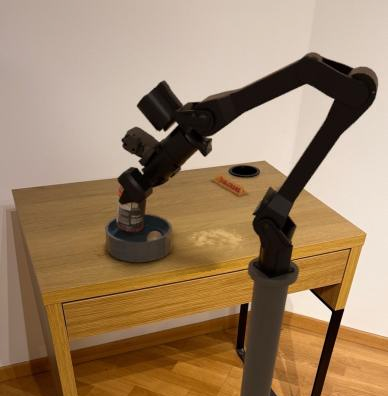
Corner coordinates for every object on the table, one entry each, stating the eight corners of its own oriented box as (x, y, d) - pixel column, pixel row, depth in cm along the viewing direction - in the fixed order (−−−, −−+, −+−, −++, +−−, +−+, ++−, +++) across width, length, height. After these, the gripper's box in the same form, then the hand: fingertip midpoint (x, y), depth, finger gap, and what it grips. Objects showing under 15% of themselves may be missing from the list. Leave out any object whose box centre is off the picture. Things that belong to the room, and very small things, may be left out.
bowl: (183, 255, 106) (183, 234, 103) (121, 270, 101) (120, 248, 98) (155, 229, 116) (154, 209, 113) (97, 241, 111) (95, 220, 107)
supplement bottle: (130, 218, 111) (135, 168, 104) (148, 229, 108) (155, 179, 101) (110, 224, 107) (113, 173, 100) (128, 236, 105) (133, 184, 97)
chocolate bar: (221, 179, 142) (221, 172, 141) (246, 194, 134) (247, 186, 133) (213, 181, 141) (214, 173, 140) (238, 195, 133) (239, 187, 132)
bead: (161, 251, 109) (162, 245, 105) (145, 248, 108) (145, 242, 105) (164, 236, 109) (164, 229, 106) (147, 233, 109) (148, 226, 105)
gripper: (166, 104, 99) (122, 153, 109) (123, 127, 85) (76, 181, 95) (202, 149, 102) (155, 193, 112) (165, 179, 88) (115, 226, 98)
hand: (127, 197), depth 104 cm, fingers closed on supplement bottle, 6 cm apart
